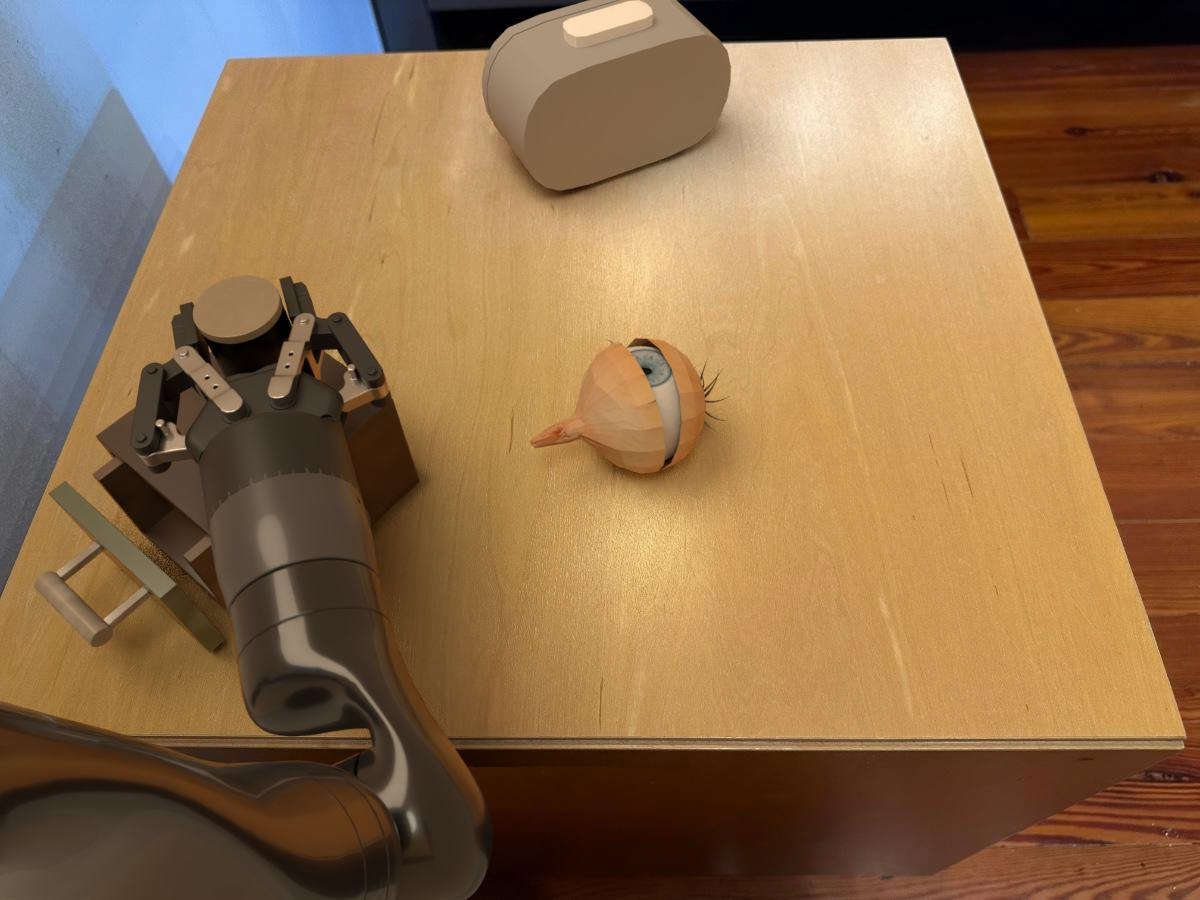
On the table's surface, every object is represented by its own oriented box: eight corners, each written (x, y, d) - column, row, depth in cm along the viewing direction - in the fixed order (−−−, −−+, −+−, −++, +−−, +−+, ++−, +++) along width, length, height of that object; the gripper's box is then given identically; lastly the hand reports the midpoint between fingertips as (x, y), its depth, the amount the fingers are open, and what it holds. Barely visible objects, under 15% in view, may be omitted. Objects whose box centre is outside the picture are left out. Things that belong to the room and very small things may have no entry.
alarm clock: (674, 92, 93) (681, -41, 82) (723, 143, 88) (738, 9, 77) (488, 153, 88) (470, 19, 77) (530, 211, 83) (516, 77, 72)
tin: (254, 435, 57) (207, 349, 51) (229, 383, 60) (181, 295, 53) (328, 402, 58) (291, 315, 52) (301, 353, 61) (263, 263, 54)
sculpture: (773, 378, 61) (567, 411, 55) (739, 480, 67) (549, 520, 61) (706, 303, 67) (513, 325, 61) (680, 403, 73) (502, 432, 67)
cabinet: (272, 617, 60) (221, 545, 53) (157, 515, 65) (94, 435, 57) (419, 481, 66) (393, 398, 59) (305, 397, 71) (266, 310, 63)
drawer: (154, 704, 56) (94, 654, 50) (50, 599, 60) (-17, 540, 54) (357, 520, 64) (327, 455, 57) (252, 438, 68) (214, 369, 61)
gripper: (414, 438, 45) (342, 221, 54) (109, 532, 42) (87, 287, 51) (439, 517, 51) (370, 310, 60) (174, 604, 48) (144, 373, 57)
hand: (240, 300), depth 56 cm, fingers open, 5 cm apart
